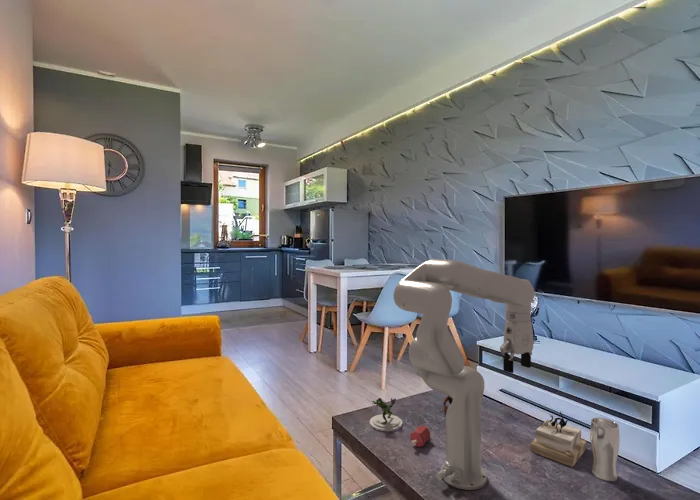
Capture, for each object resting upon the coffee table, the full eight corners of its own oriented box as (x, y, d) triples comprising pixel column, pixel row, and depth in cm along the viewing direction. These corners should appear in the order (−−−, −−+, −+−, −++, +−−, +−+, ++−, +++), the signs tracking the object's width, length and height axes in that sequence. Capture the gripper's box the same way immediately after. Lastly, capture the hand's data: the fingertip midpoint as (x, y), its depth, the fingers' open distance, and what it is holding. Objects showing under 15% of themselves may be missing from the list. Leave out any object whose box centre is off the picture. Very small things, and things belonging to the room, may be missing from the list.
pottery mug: (475, 419, 145) (468, 403, 143) (453, 430, 145) (445, 415, 143) (462, 398, 157) (455, 383, 154) (441, 409, 157) (434, 394, 154)
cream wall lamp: (572, 468, 113) (572, 445, 113) (530, 452, 122) (530, 430, 122) (586, 449, 123) (586, 428, 123) (546, 436, 132) (546, 416, 131)
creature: (546, 438, 119) (573, 434, 118) (542, 422, 119) (569, 417, 118) (537, 426, 127) (563, 422, 126) (534, 410, 127) (559, 406, 126)
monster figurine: (363, 420, 144) (363, 393, 144) (390, 413, 150) (390, 387, 149) (380, 435, 133) (380, 405, 133) (409, 427, 139) (408, 398, 139)
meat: (421, 452, 121) (417, 436, 122) (408, 451, 124) (403, 436, 125) (436, 435, 131) (432, 421, 132) (423, 435, 134) (419, 421, 134)
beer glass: (625, 479, 107) (625, 426, 107) (606, 484, 105) (606, 430, 105) (602, 465, 114) (602, 415, 113) (584, 470, 112) (584, 419, 111)
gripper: (512, 321, 117) (512, 377, 118) (543, 316, 127) (542, 367, 127) (491, 317, 124) (490, 370, 124) (522, 312, 133) (521, 362, 133)
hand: (517, 369), depth 126 cm, fingers open, 9 cm apart
